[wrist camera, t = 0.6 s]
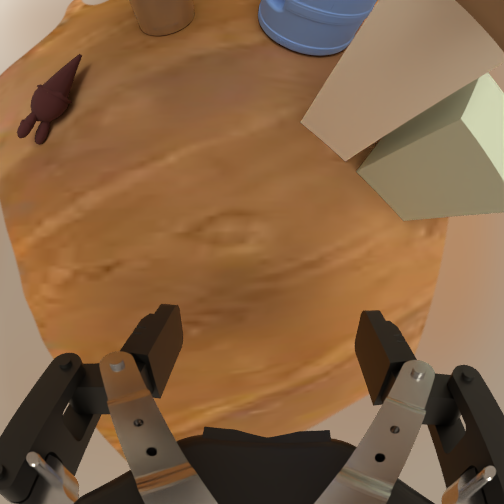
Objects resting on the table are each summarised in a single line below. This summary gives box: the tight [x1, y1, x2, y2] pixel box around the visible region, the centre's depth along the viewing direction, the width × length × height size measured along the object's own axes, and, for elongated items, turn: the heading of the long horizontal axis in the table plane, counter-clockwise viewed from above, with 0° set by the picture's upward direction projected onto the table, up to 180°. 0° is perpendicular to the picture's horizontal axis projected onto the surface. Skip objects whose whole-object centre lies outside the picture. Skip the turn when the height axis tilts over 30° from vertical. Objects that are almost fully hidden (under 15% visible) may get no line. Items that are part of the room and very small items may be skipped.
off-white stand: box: [300, 0, 504, 161], centre depth 20 cm, size 10×8×32 cm
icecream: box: [17, 54, 82, 144], centre depth 29 cm, size 7×7×15 cm
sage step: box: [356, 73, 504, 221], centre depth 26 cm, size 10×10×21 cm
